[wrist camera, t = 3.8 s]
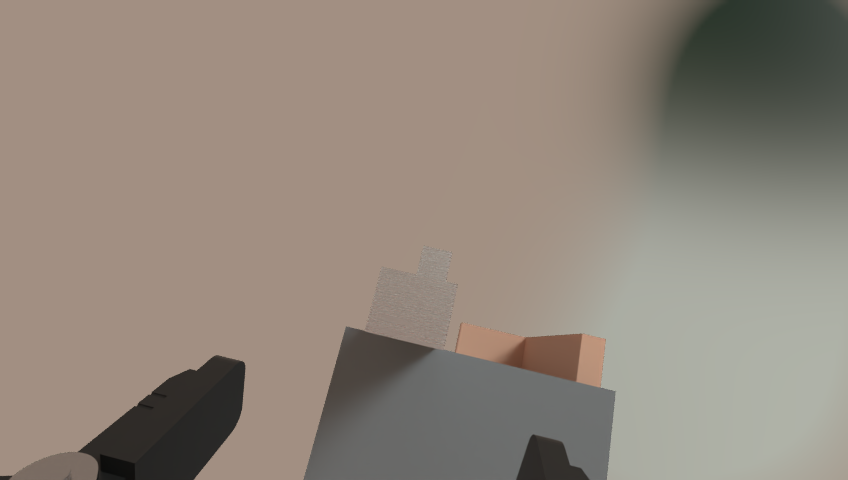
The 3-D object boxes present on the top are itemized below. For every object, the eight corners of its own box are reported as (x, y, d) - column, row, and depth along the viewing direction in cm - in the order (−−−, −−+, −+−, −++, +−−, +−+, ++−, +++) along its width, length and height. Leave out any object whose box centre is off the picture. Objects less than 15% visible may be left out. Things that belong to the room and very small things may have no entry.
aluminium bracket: (431, 346, 40) (450, 256, 42) (443, 350, 14) (491, 125, 17) (402, 339, 40) (423, 250, 42) (364, 331, 15) (422, 111, 17)
